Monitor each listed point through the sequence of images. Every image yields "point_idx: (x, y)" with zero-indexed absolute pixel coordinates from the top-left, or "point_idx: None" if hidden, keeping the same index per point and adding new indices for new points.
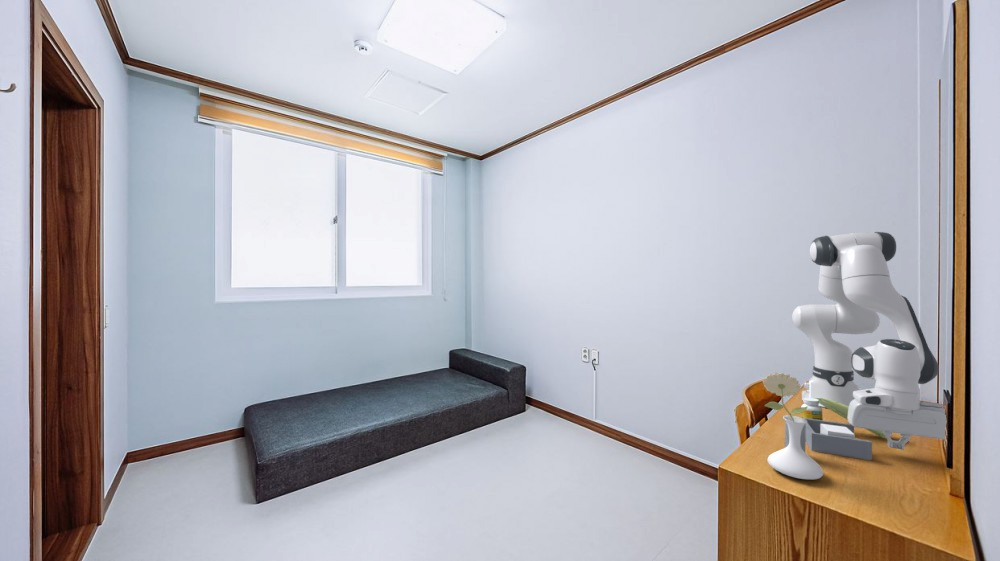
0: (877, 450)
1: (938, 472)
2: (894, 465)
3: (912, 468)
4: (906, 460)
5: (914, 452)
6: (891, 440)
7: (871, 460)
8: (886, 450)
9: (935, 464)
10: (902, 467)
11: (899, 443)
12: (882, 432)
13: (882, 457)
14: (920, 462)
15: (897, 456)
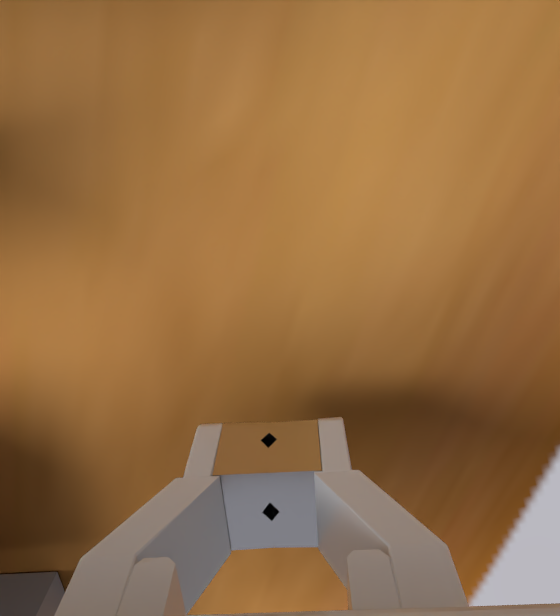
0: (134, 329)
1: (476, 585)
2: (205, 602)
3: (315, 597)
4: None
5: (530, 160)
6: (205, 570)
7: (64, 592)
8: (224, 275)
9: (555, 435)
10: (250, 610)
11: (296, 546)
12: (80, 566)
13: (150, 492)
14: (438, 451)
15: (285, 402)
